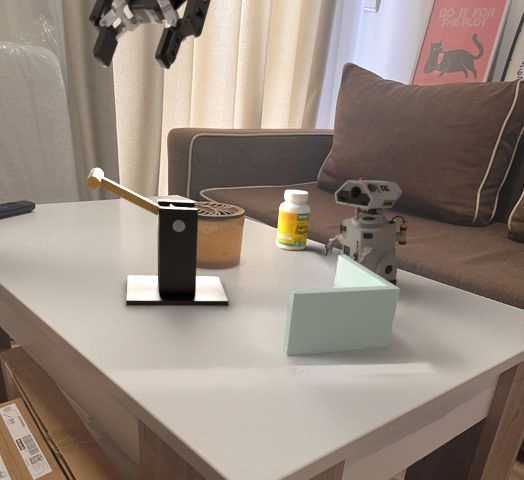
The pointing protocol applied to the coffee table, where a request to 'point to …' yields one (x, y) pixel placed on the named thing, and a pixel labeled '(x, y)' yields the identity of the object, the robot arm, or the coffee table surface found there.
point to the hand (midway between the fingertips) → (130, 63)
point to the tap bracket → (176, 264)
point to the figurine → (370, 226)
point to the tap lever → (120, 191)
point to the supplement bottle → (293, 220)
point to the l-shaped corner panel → (341, 312)
